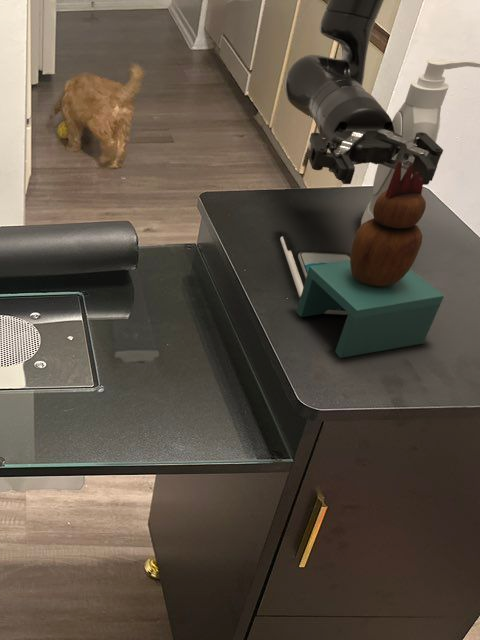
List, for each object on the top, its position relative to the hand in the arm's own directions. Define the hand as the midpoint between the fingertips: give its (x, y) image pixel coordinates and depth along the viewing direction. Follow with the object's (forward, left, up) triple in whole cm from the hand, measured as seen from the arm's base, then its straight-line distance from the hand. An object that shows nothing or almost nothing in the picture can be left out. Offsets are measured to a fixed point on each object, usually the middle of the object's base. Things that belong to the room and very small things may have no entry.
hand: (388, 177), depth 84 cm
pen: (+2, -10, -18) cm, 20 cm away
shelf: (+2, +5, -17) cm, 18 cm away
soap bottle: (-16, -15, -18) cm, 28 cm away
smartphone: (-1, -4, -18) cm, 19 cm away
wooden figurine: (+2, +5, -11) cm, 12 cm away
